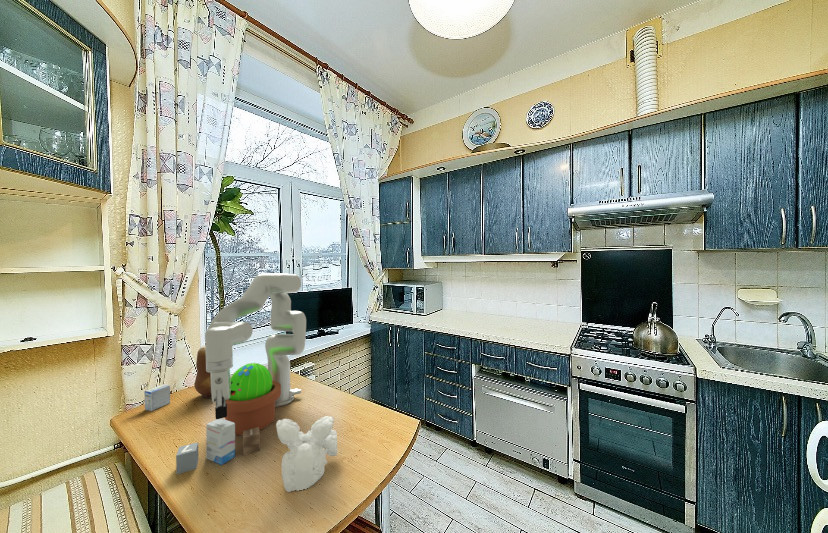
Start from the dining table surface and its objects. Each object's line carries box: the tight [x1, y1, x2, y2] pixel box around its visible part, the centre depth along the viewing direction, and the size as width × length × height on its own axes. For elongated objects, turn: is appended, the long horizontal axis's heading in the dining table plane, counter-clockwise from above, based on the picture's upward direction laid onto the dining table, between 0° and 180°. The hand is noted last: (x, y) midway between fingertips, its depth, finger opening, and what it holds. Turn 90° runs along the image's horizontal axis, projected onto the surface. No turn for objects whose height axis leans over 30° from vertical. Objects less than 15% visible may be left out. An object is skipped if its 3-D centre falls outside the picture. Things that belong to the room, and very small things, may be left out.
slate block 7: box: [175, 441, 200, 475], centre depth 95 cm, size 5×5×6 cm
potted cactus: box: [224, 362, 281, 436], centre depth 120 cm, size 22×22×25 cm
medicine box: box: [144, 383, 171, 412], centre depth 134 cm, size 8×4×9 cm, turn 164°
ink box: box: [205, 418, 236, 466], centre depth 99 cm, size 9×5×12 cm, turn 65°
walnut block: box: [242, 427, 261, 456], centre depth 104 cm, size 5×5×6 cm
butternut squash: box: [194, 344, 212, 399], centre depth 145 cm, size 14×13×25 cm
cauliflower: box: [275, 415, 338, 493], centre depth 93 cm, size 19×20×20 cm
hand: (221, 417), depth 100 cm, fingers closed
